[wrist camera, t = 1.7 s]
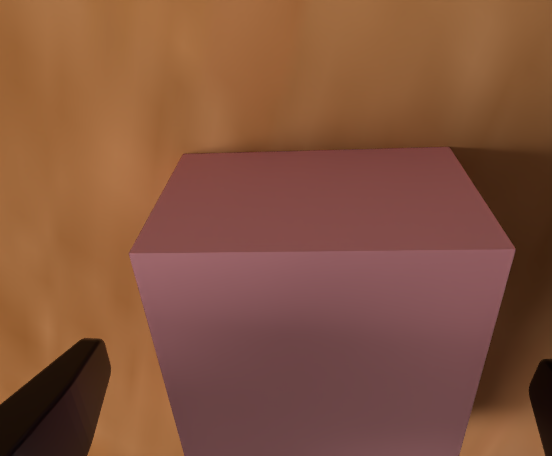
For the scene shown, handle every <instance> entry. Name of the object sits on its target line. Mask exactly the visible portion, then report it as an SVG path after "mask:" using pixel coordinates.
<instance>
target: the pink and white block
mask: <svg viewBox="0 0 552 456" xmlns="http://www.w3.org/2000/svg"><path fill="white" fill-rule="evenodd" d="M515 251H516V249H515V247H514V246H513V244H512V243H511V241H510V239H509V238H508V236H507V235H506V233H505V232H504V230H503V229H502V227H501V226H500V224H499V223H498V221H497V219H496V218H495V216H494V215H493V213H492V212H491V210H490V209H489V207H488V206H487V204H486V203H485V201H484V199H483V198H482V196H481V195H480V193H479V192H478V190H477V189H476V187H475V186H474V184H473V183H472V181H471V179H470V178H469V176H468V175H467V173H466V172H465V170H464V169H463V167H462V166H461V164H460V163H459V161H458V159H457V158H456V156H455V155H454V153H453V152H452V150H451V149H450V147H426V148H389V149H352V150H314V151H277V152H240V153H203V154H183V155H182V157H181V159H180V161H179V162H178V164H177V166H176V168H175V170H174V172H173V173H172V175H171V177H170V179H169V181H168V183H167V184H166V186H165V188H164V190H163V192H162V194H161V195H160V197H159V199H158V201H157V203H156V205H155V206H154V208H153V210H152V212H151V214H150V216H149V217H148V219H147V221H146V223H145V225H144V227H143V228H142V230H141V232H140V234H139V236H138V238H137V239H136V241H135V243H134V245H133V247H132V249H131V250H130V252H129V256H130V260H131V263H132V267H133V271H134V274H135V278H136V281H137V285H138V289H139V292H140V296H141V300H142V303H143V307H144V310H145V314H146V318H147V321H148V325H149V329H150V332H151V336H152V339H153V343H154V347H155V350H156V354H157V357H158V361H159V365H160V368H161V372H162V376H163V379H164V383H165V386H166V390H167V394H168V397H169V401H170V405H171V408H172V412H173V415H174V419H175V423H176V426H177V430H178V434H179V437H180V441H181V444H182V448H183V452H184V455H185V456H459V454H460V450H461V447H462V443H463V439H464V436H465V432H466V428H467V425H468V421H469V418H470V414H471V410H472V407H473V403H474V399H475V396H476V392H477V388H478V385H479V381H480V378H481V374H482V370H483V367H484V363H485V359H486V356H487V352H488V349H489V345H490V341H491V338H492V334H493V330H494V327H495V323H496V320H497V316H498V312H499V309H500V305H501V301H502V298H503V294H504V290H505V287H506V283H507V280H508V276H509V272H510V269H511V265H512V261H513V258H514V254H515Z"/></svg>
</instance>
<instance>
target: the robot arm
mask: <svg viewBox="0 0 552 456" xmlns="http://www.w3.org/2000/svg"><path fill="white" fill-rule="evenodd" d="M110 373H111V365H110V361H109V357H108V354H107V350H106V346H105V343H104V341H103V340H102V339H94V338H84V339H81V340H80V341H78V342H77V343H76V344H75V345H73V346H72V347H71V348H70V349H68V350H67V351H66V352H65V353H63V354H62V355H61V356H60V357H58V358H57V359H56V360H55V361H54V362H52V363H51V364H50V365H49V366H47V367H46V368H45V369H44V370H42V371H41V372H40V373H39V374H37V375H36V376H35V377H34V378H33V379H31V380H30V381H29V382H28V383H26V384H25V385H24V386H23V387H21V388H20V389H19V390H18V391H16V392H15V393H14V394H13V395H11V396H10V397H9V398H8V399H7V400H5V401H4V402H3V403H2V404H0V456H87V455H88V452H89V449H90V446H91V443H92V440H93V437H94V433H95V429H96V426H97V422H98V418H99V415H100V411H101V408H102V404H103V400H104V397H105V393H106V389H107V386H108V382H109V378H110ZM529 397H530V401H531V405H532V408H533V412H534V416H535V419H536V423H537V427H538V430H539V434H540V438H541V441H542V445H543V449H544V452H545V456H552V359H543V360H542V361H541V362H540V363H539V365H538V367H537V370H536V372H535V374H534V376H533V378H532V380H531V383H530V386H529Z"/></svg>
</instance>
